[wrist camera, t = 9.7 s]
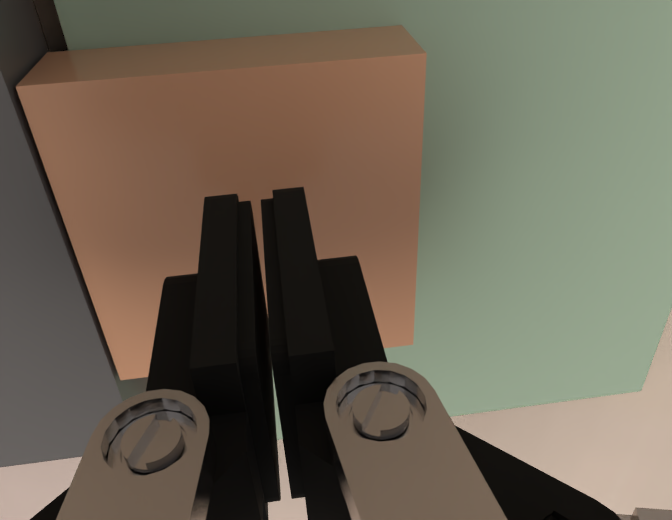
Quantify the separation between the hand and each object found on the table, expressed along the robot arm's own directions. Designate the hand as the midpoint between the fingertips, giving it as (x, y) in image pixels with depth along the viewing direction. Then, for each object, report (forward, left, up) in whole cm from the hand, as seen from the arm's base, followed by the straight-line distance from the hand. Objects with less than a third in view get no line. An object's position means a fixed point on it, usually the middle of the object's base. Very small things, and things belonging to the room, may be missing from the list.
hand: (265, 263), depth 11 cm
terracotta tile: (+1, 0, -4) cm, 4 cm away
